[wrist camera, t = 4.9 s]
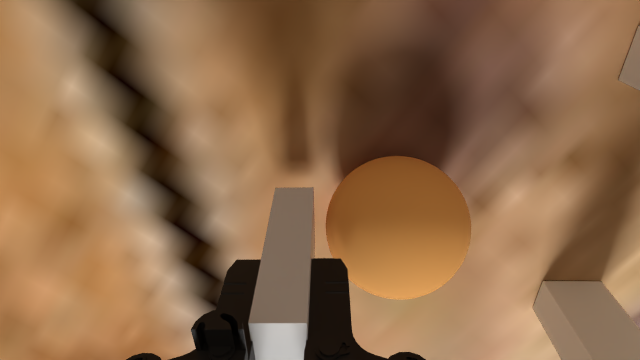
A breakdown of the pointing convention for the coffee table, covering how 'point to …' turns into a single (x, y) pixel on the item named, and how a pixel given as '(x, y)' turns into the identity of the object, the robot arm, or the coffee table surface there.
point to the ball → (398, 227)
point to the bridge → (591, 295)
